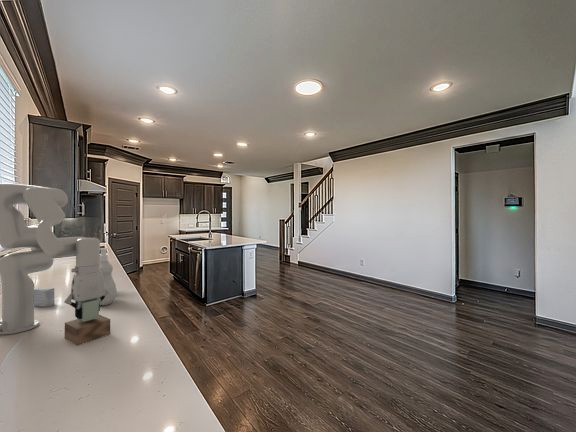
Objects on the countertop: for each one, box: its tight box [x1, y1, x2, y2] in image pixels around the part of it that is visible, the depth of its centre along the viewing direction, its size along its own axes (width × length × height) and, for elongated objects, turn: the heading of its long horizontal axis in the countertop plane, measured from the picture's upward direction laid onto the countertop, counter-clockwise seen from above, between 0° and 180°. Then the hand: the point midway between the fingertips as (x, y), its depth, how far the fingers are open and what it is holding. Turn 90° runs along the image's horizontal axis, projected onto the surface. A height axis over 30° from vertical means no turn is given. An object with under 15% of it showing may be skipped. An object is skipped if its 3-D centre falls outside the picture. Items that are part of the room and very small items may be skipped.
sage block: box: [76, 298, 100, 322], centre depth 105 cm, size 5×6×7 cm
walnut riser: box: [64, 314, 111, 347], centre depth 105 cm, size 11×11×6 cm
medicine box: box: [34, 287, 55, 308], centre depth 139 cm, size 8×4×9 cm, turn 84°
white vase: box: [100, 247, 117, 307], centre depth 142 cm, size 17×12×29 cm
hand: (87, 315), depth 105 cm, fingers closed on sage block, 5 cm apart
